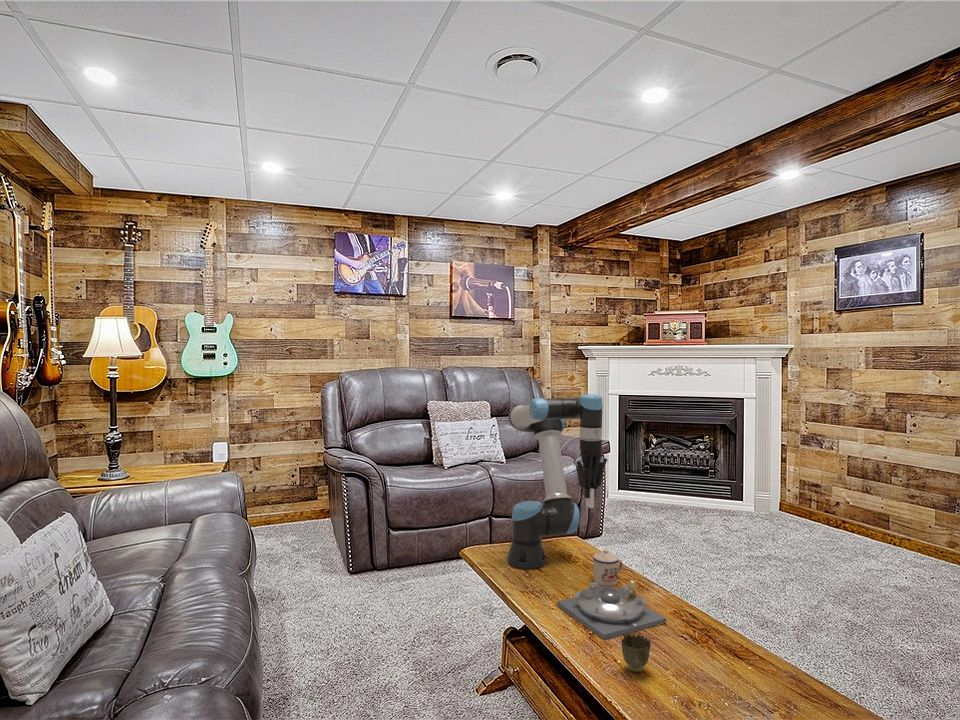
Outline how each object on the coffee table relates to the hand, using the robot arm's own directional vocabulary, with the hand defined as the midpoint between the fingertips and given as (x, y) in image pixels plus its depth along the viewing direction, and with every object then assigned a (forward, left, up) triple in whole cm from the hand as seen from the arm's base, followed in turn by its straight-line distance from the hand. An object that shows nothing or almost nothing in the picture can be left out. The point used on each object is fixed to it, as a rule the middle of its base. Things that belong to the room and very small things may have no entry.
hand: (589, 506), depth 196 cm
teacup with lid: (-4, +12, -30) cm, 32 cm away
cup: (+45, -19, -30) cm, 57 cm away
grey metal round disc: (+17, -5, -28) cm, 33 cm away
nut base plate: (+17, -5, -29) cm, 34 cm away
